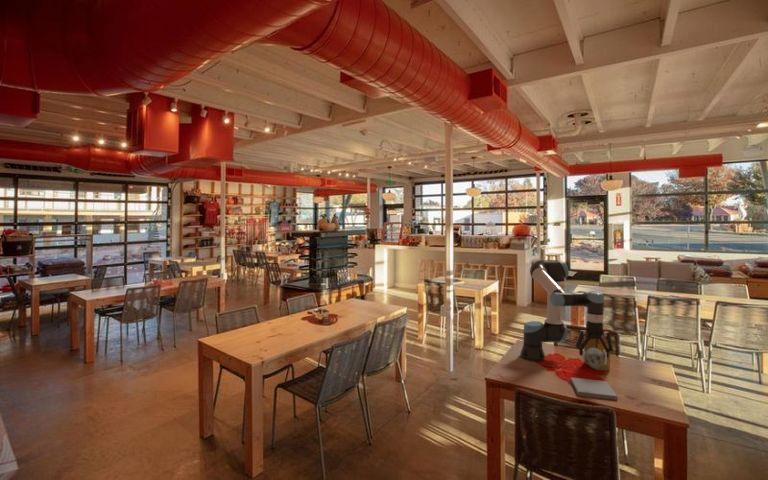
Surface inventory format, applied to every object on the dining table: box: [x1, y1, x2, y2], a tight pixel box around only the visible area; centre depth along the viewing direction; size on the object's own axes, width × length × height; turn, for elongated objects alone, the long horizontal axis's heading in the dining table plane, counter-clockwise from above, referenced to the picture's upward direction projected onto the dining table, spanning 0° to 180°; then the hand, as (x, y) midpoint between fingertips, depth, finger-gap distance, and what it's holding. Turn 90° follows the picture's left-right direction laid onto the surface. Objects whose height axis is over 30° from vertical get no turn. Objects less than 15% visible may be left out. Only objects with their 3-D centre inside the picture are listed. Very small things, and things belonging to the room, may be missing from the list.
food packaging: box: [584, 323, 612, 372], centre depth 231 cm, size 13×9×25 cm
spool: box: [584, 348, 604, 368], centre depth 199 cm, size 14×10×10 cm
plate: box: [570, 376, 618, 401], centre depth 200 cm, size 18×18×2 cm
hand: (593, 362), depth 199 cm, fingers closed on spool, 10 cm apart
